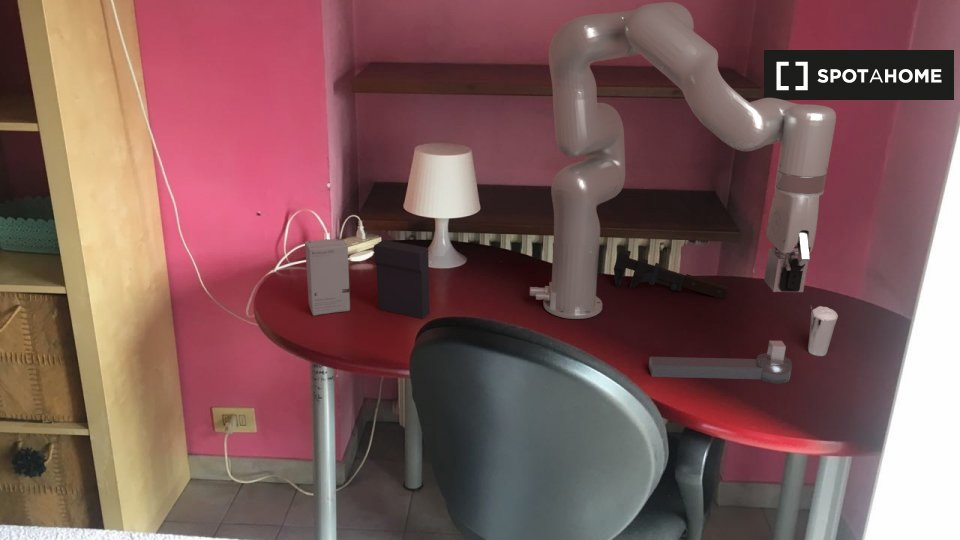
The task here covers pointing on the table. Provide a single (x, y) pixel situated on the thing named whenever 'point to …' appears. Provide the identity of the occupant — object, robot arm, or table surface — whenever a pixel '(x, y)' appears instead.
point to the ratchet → (728, 366)
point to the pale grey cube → (779, 269)
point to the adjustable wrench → (663, 276)
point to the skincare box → (327, 276)
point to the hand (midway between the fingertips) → (783, 283)
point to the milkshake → (821, 330)
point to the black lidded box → (402, 278)
